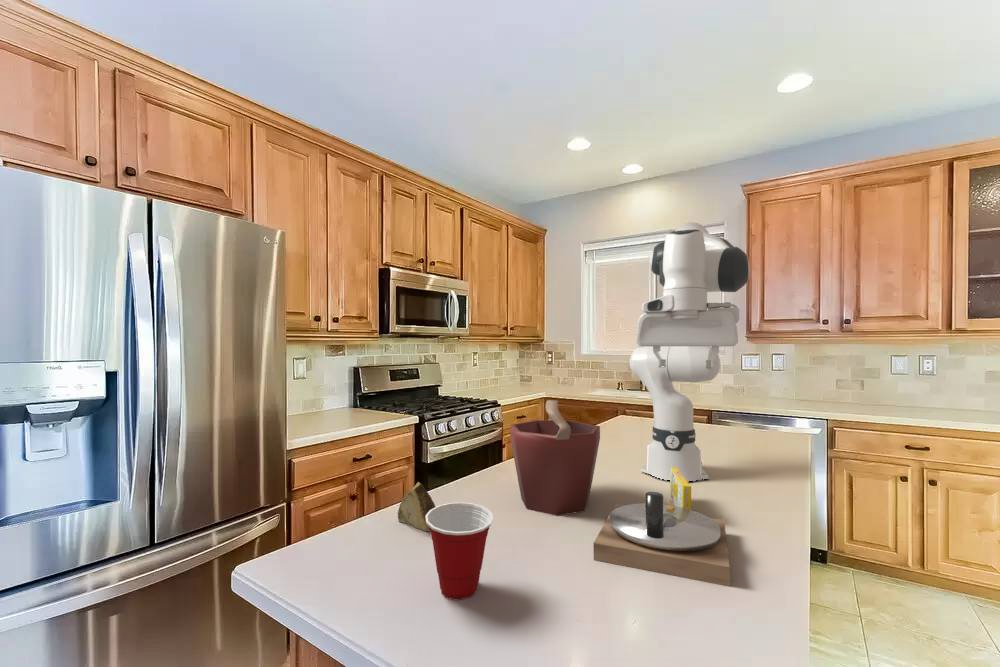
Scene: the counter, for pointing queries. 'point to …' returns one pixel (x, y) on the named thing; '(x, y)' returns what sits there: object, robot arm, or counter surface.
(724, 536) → the walnut base
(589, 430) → the bucket
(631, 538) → the handwheel
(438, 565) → the plastic cup
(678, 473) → the candy box
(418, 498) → the rock
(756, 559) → the counter surface
